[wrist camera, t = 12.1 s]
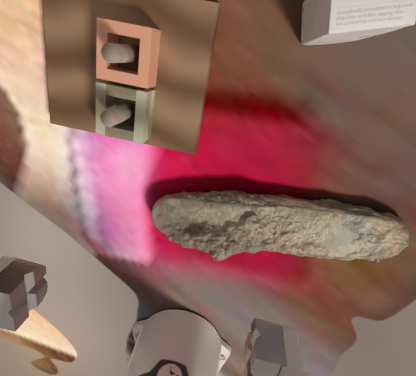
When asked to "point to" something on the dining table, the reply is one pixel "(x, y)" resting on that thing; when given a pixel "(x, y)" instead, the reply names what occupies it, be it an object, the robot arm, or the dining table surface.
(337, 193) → the dining table surface
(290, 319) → the dining table surface
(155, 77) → the chunky salmon square frame
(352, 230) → the long grey stone
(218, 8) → the wooden peg board
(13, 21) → the dining table surface
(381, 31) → the skincare box
